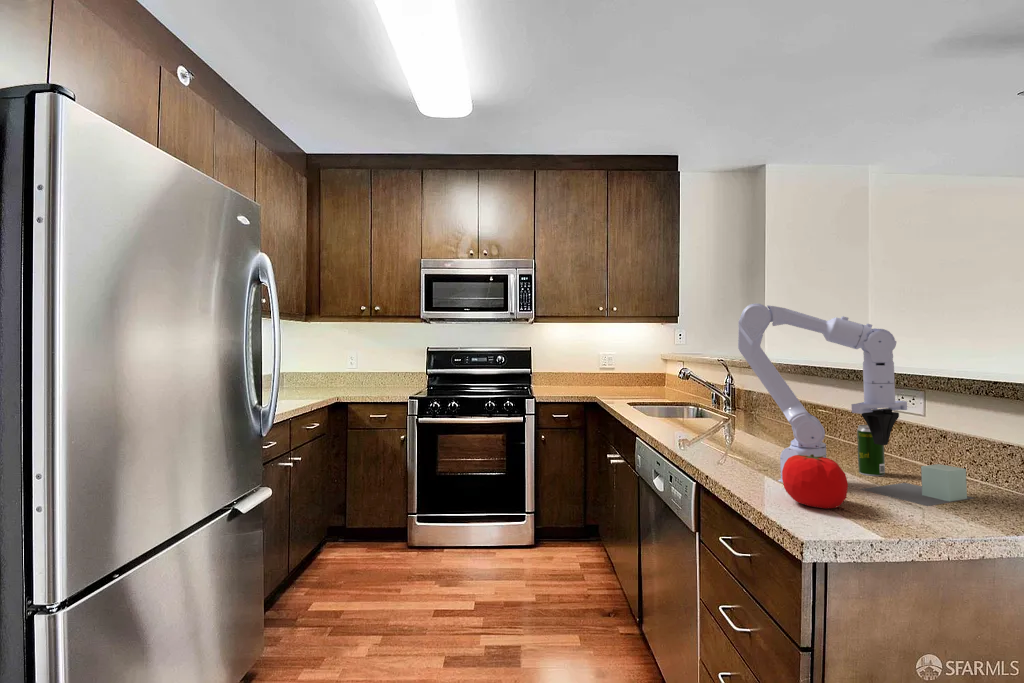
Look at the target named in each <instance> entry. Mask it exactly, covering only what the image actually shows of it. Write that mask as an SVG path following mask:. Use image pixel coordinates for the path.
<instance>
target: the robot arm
mask: <svg viewBox="0 0 1024 683" xmlns="http://www.w3.org/2000/svg"><path fill="white" fill-rule="evenodd" d="M849 319H850V318H849V317H847V316H844V315H843V316H841V318H840V317H838V316H837V317H836V316H835V317H832V318H831V319H830V318H829V319H828V320H826V319H823V318H819V317H815V316H812V315H809V314H806V313H803V312H799V311H796V310H792V309H791V308H785V307H780V306H776V305H767V306H766V305H764V304H761V303H757V302H755V303H750V304H748V305H747V306H746V307H745V308H743V310H742V312H741V315H740V317H739V319H738V324H737V325H738V331H737V332H738V334H737V335H738V340H737V341H738V342H737V344H738V345H737V349H738V351H739V353H740V354H741V355H742V357H743V359H745V361H746V362H747V364H748V365H749V367H750V369H751V370H752V371H753V372H754V374H755V375H756V377H757V378H758V379H759V380H760V382H761V383H762V385H763V386H764V388H765V390H767V392H768V393H769V395H770V396H771V398H772V400H774V402H775V404H777V406H778V408H779V409H780V410H781V412H782V413H783V415H784V417H785V418H786V419H787V422H788V423H789V424H790V425H791V430H792V432H793V433H792V434H793V439H792V440H791V441H790V445H789V447H784V449H783V450H782V451H781V453H780V457H779V458H780V459H779V460H780V462H779V463H780V464H779V465H780V479H778V480H777V482H780V483H783V480H782V470H783V467H784V464H785V462H786V461H787V459H788V458H790V457H792V456H794V455H807V456H810V455H811V454H813V455H814V456H815V457H819V456H823V457H825V458H827V444H826V443H825V442H823V441H824V439H825V437H826V431H825V428H824V426H823V424H822V423H821V422H820V420H819V418H817V417H816V416H814V415H812V414H810V413H809V412H808V411H807V409H806V408H805V406H804V404H802V402H801V401H800V400H799V398H798V397H797V395H796V394H795V393H794V392H793V390H792V388H791V387H790V385H788V383H787V382H786V381H785V379H784V378H783V376H782V374H780V372H779V371H778V369H777V367H776V366H775V365H774V364H773V362H772V360H770V358H769V357H768V355H767V354H766V353H765V351H764V350H763V348H762V347H761V343H762V340H763V336H764V332H765V331H766V330H767V328H768V327H769V325H770V323H772V324H771V325H772V327H776V326H781V325H782V326H783V325H787V326H788V325H789V326H792V327H796V328H799V329H804V330H808V331H812V332H815V333H819V334H822V336H823V337H824V338H825V340H826V341H827V342H830V343H833V344H835V345H839V346H844V347H846V348H851V349H853V350H859V349H861V350H862V351H863V355H862V356H863V362H862V376H863V378H862V379H863V382H862V383H863V402H862V401H861V402H858V403H852V404H851V413H852V414H858V415H859V414H860V415H861V417H862V418H863V419H864V421H865V422H866V425H868V426H869V429H870V431H871V434H872V437H873V440H874V443H875V444H878V445H884V446H888V444H889V441H890V437H891V433H892V430H893V427H894V425H895V424H896V421H897V420H898V419H899V417H900V413H899V412H897V411H907V410H908V401H906V400H896V386H895V385H896V384H895V362H894V353H893V351H894V349H895V348H896V346H897V340H896V339H895V336H894V335H893V333H892V332H890V331H889V330H888V329H884V328H878V327H877V328H872V327H873V324H870V323H866V324H863V323H859V322H856V321H851V320H849ZM895 411H896V412H895ZM824 455H826V456H824Z"/></svg>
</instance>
